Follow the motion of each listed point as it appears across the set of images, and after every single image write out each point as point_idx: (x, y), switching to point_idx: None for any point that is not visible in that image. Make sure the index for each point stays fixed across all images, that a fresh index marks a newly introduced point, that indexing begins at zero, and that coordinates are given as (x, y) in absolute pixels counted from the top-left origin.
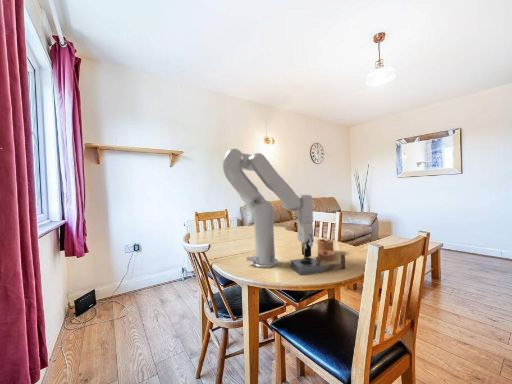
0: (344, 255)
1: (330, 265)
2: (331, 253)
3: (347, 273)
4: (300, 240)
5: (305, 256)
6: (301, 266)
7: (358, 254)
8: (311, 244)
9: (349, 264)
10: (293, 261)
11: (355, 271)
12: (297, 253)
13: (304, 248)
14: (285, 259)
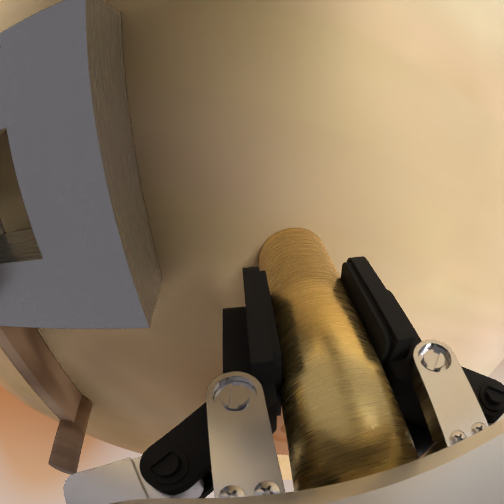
0: (57, 469)
1: (18, 366)
2: (278, 446)
3: (16, 379)
4: (444, 486)
5: (244, 272)
6: None
7: (287, 474)
8: (78, 501)
9: (146, 436)
10: (21, 39)
11: (51, 411)
12: (501, 237)
13: (313, 362)
14: (412, 32)
